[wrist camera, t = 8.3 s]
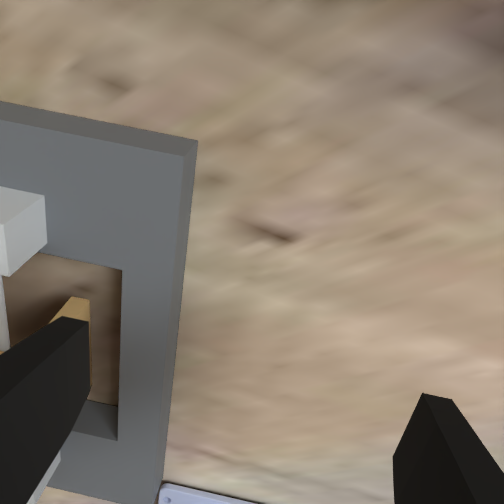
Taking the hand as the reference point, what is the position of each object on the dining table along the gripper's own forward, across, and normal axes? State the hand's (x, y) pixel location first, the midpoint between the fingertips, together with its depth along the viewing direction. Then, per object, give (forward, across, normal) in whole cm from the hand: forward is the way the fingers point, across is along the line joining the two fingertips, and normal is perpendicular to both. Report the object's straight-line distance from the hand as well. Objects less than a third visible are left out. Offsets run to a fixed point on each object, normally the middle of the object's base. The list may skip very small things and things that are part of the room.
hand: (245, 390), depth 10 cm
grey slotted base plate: (+9, +10, +8) cm, 15 cm away
